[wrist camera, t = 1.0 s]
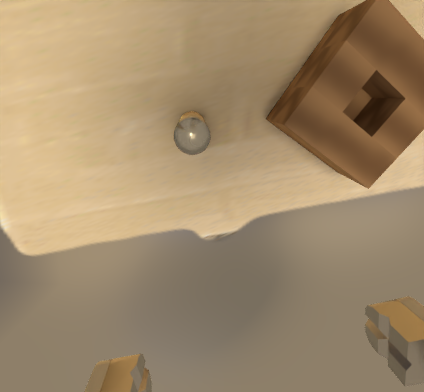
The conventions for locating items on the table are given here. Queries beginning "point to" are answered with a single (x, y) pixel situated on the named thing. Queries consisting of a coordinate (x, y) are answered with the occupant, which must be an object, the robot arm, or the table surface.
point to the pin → (192, 133)
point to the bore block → (358, 93)
